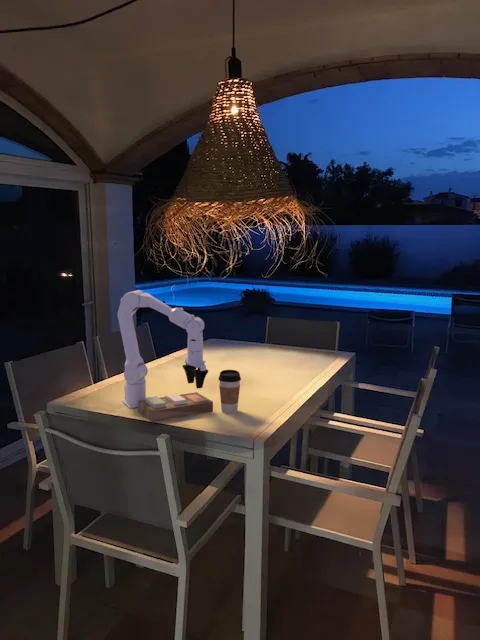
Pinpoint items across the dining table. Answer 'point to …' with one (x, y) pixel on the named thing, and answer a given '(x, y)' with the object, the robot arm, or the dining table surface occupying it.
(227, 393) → the coffee cup
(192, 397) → the terracotta button
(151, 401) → the sage button
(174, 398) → the cream button
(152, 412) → the button board
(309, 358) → the dining table surface
